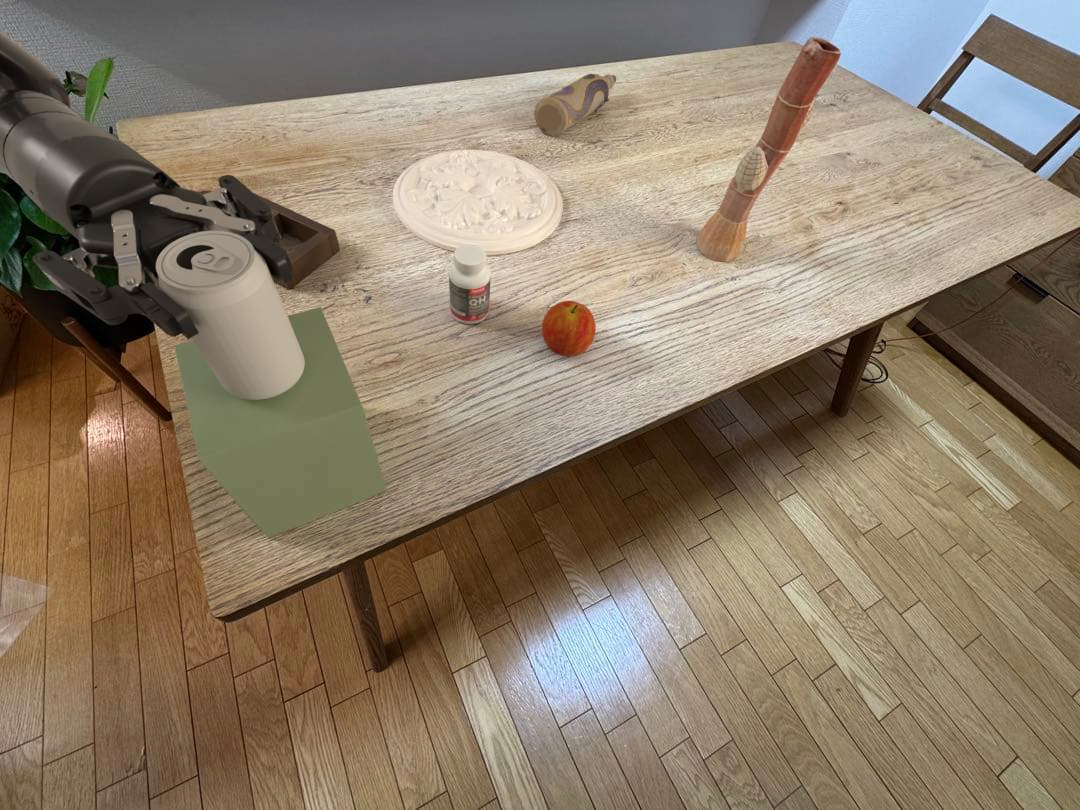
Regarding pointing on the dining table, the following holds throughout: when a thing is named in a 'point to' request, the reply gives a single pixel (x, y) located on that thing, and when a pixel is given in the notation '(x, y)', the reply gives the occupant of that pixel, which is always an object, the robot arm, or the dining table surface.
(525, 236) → the ceiling medallion
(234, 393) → the beverage can
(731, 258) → the vase
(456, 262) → the pill bottle
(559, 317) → the fruit
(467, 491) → the dining table surface
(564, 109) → the decorative bottle
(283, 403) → the stand
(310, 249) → the tray
